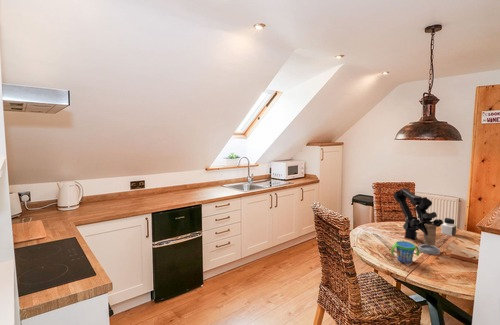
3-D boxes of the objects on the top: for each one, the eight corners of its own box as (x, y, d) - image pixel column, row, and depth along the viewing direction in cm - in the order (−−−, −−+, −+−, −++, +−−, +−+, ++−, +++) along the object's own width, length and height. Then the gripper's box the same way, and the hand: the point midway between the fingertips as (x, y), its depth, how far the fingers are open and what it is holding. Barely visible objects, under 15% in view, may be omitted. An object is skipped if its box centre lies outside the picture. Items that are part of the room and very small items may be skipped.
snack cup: (414, 257, 170) (415, 241, 169) (422, 265, 159) (423, 248, 158) (387, 256, 172) (388, 240, 171) (394, 263, 162) (394, 247, 161)
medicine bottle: (451, 236, 203) (452, 220, 202) (441, 233, 209) (441, 218, 208) (456, 234, 207) (457, 218, 206) (445, 231, 213) (446, 216, 212)
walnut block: (423, 242, 181) (424, 223, 180) (430, 242, 181) (431, 223, 179) (427, 245, 176) (428, 225, 175) (435, 245, 176) (436, 225, 175)
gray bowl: (415, 250, 179) (415, 247, 179) (421, 245, 187) (421, 242, 187) (437, 256, 170) (437, 253, 170) (442, 250, 179) (442, 247, 179)
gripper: (413, 207, 181) (421, 229, 171) (442, 207, 180) (452, 229, 170) (406, 215, 189) (414, 237, 179) (434, 215, 188) (443, 237, 178)
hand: (431, 235), depth 177 cm, fingers closed on walnut block, 5 cm apart
